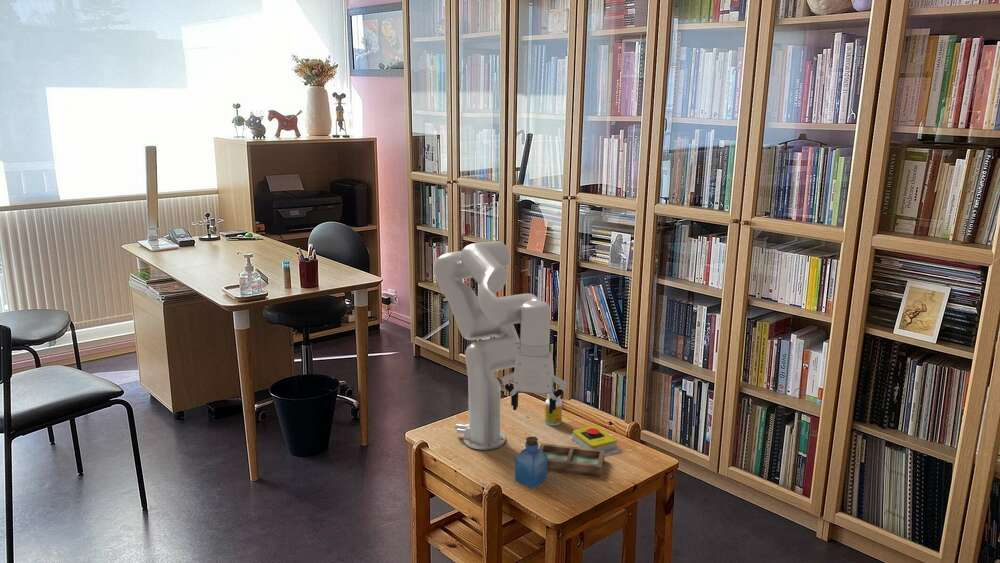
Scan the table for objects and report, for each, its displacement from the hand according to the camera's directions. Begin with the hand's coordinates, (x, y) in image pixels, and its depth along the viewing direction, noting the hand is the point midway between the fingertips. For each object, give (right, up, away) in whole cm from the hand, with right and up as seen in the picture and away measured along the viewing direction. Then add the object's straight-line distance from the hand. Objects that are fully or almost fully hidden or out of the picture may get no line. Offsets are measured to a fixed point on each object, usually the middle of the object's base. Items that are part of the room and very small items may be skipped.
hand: (533, 410), depth 190 cm
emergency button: (+20, -15, +26) cm, 36 cm away
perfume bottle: (0, -20, +5) cm, 21 cm away
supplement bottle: (+8, -11, +40) cm, 42 cm away
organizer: (+11, -18, +13) cm, 25 cm away
